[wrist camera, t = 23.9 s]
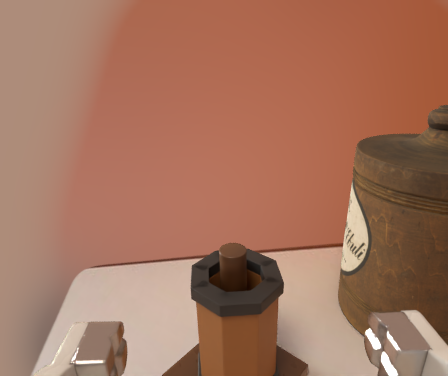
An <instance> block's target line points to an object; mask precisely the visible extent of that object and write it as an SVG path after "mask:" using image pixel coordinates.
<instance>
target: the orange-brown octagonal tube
mask: <svg viewBox="0 0 448 376" xmlns="http://www.w3.org/2000/svg"><path fill="white" fill-rule="evenodd" d="M246 250H247V291H237V292H225V291H223V290H222V289H221V288H220V262H219V251H214V252H213V253H211V254H210V255H208V256H206V257H205V258H203V259H202V260H200V261H199V262H197V263H195V264H194V265H192V273H191V298H192V300H194V301H196V306H197V319H198V333H199V347H200V351H199V353H198V376H279V370H278V366H277V362H276V345H277V321H278V297H279V296H280V295H282V294H283V289H284V282H283V279H282V276H281V274H280V271H279V268H278V265H277V263H276V260H273V259H271V258H269V257H266V256H264V255H262V254H259V253H257V252H255V251H252V250H250V249H246Z"/></svg>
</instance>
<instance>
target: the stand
mask: <svg viewBox="0 0 448 376" xmlns="http://www.w3.org/2000/svg"><path fill="white" fill-rule="evenodd" d="M219 262H220V288H221V289H222V290H223V291H225V292H237V291H247V250H246V248H245V246H243V245H241V244H238V243H228V244H225V245H223V246H221V247H220V249H219ZM199 351H200V347H199V343H198V344H197V345H196V346H195V347H194V348H193V349H192V350H190V351H189V352H188V353H187V354H186V355H185V356H184V357H182V358H181V359H180V360H179V361H178V362H177V363H175V364H174V365H173V366H172V367H171V368H170V369H169V370H167V371H166V372H165V373H164V374H163V375H162V376H198V353H199ZM276 362H277V366H278V370H279V376H307V371H308V364H306V363H304V362H303V361H301V360H300V359H298V358H296V357H295V356H293V355H291V354H290V353H288V352H287V351H285V350H283V349H282V348H280V347H278V346H277V345H276Z"/></svg>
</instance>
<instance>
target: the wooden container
mask: <svg viewBox="0 0 448 376" xmlns="http://www.w3.org/2000/svg"><path fill="white" fill-rule="evenodd" d="M428 124H429V126H430V127H429V128H428V129H427V130H426V131H424V132H423V133H422V134H388V135H379V136H373V137H369V138H366V139H363V140H361V141H360V142H359V143H358V144H357V147H356V153H355V159H354V167H353V180H352V187H351V194H350V201H349V209H348V215H347V222H346V228H345V236H344V243H343V252H342V261H341V273H340V282H339V292H338V298H339V304H340V306H341V309H342V311H343V313H344V315H345V316H346V318H347V319H348V320H349V322H350V323H351V324H352V325H353V326H354V327H355V328H356V329H357V330H358V331H359V332H360V333H361V334H362V335H364V336H365V332H366V331H367V330H368V329H369V328H370V326H369V324H368V322H367V320H368V315H369V314H370V313H371V312H387V311H405V310H417V311H419V312H420V313H421V314H422V315H423V316H424V318H425V319H426V320H427V321H428V322H429V324H430V325H431V326H432V327H433V329H434V330H435V331H436V332H437V333H438V335H439V336H440V337H441V338H442V339H443V341H444V342H445V343H446V344H447V345H448V105H444V106H440V107H439V109H435V110H433V111H431V112H430V113H429V116H428Z"/></svg>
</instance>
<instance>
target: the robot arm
mask: <svg viewBox="0 0 448 376" xmlns="http://www.w3.org/2000/svg"><path fill="white" fill-rule="evenodd" d="M367 322H368V324H369V326H370V328H369V329H368V330H367V331H366V332H365V338H364V343H365V350H366V353H367V356H368V358H369V360H370V362H371V363H372V364H373V365H375V366H376V367H377V368H379V371H378V376H448V345H447V344H446V343H445V342H444V341H443V339H442V338H441V337H440V336H439V335H438V333H437V332H436V331H435V330H434V329H433V327H432V326H431V325H430V324H429V322H428V321H427V320H426V319H425V318H424V316H423V315H422V314H421V313H420V312H419V311H417V310H405V311H387V312H371V313H370V314H369V315H368V320H367ZM123 334H124V326H123V323H122V322H75V323H74V324H73V325H72V326H71V328H70V329H69V331H68V333H67V335H66V337H65V339H64V341H63V342H62V344H61V346H60V348H59V350H58V352H57V354H56V356H55V357H54V359H53V361H52V363H51V365H46V366H44V367H43V368H42V369H40V370H39V371H38V372H36V373H35V374H34V375H32V376H121V375H122V374H123V373H124V370H125V367H126V361H127V343H126V341H125V340H124V339H123V338H122V337H123Z"/></svg>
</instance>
